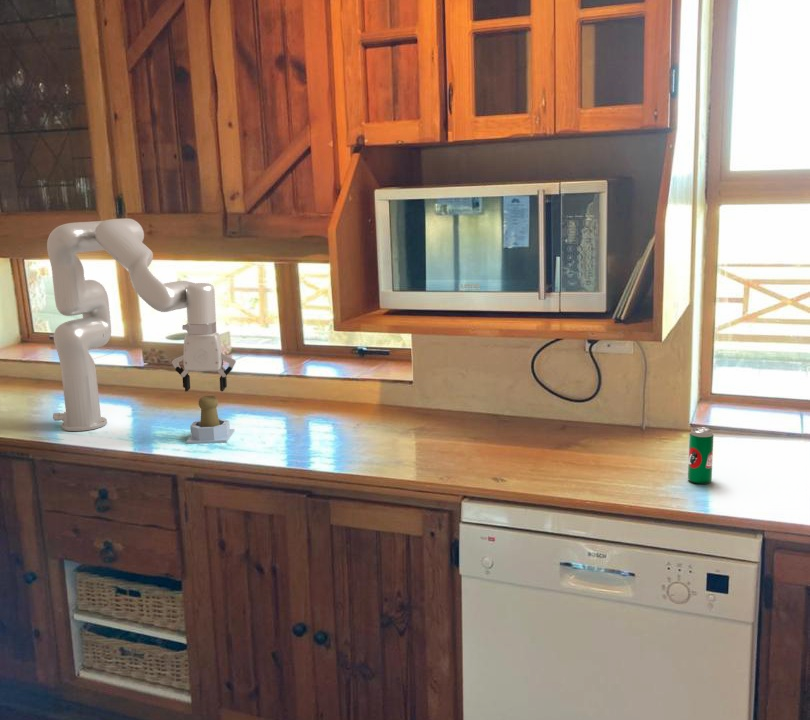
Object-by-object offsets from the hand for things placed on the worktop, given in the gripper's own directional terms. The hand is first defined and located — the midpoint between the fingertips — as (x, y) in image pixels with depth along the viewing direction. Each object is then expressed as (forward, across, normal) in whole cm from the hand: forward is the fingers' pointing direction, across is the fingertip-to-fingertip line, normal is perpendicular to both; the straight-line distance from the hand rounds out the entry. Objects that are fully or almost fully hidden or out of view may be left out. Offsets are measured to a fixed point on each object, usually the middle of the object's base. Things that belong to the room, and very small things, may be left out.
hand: (205, 390), depth 236 cm
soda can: (+9, +121, -47) cm, 130 cm away
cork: (+13, +1, 0) cm, 13 cm away
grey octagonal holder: (+13, +1, 0) cm, 13 cm away
